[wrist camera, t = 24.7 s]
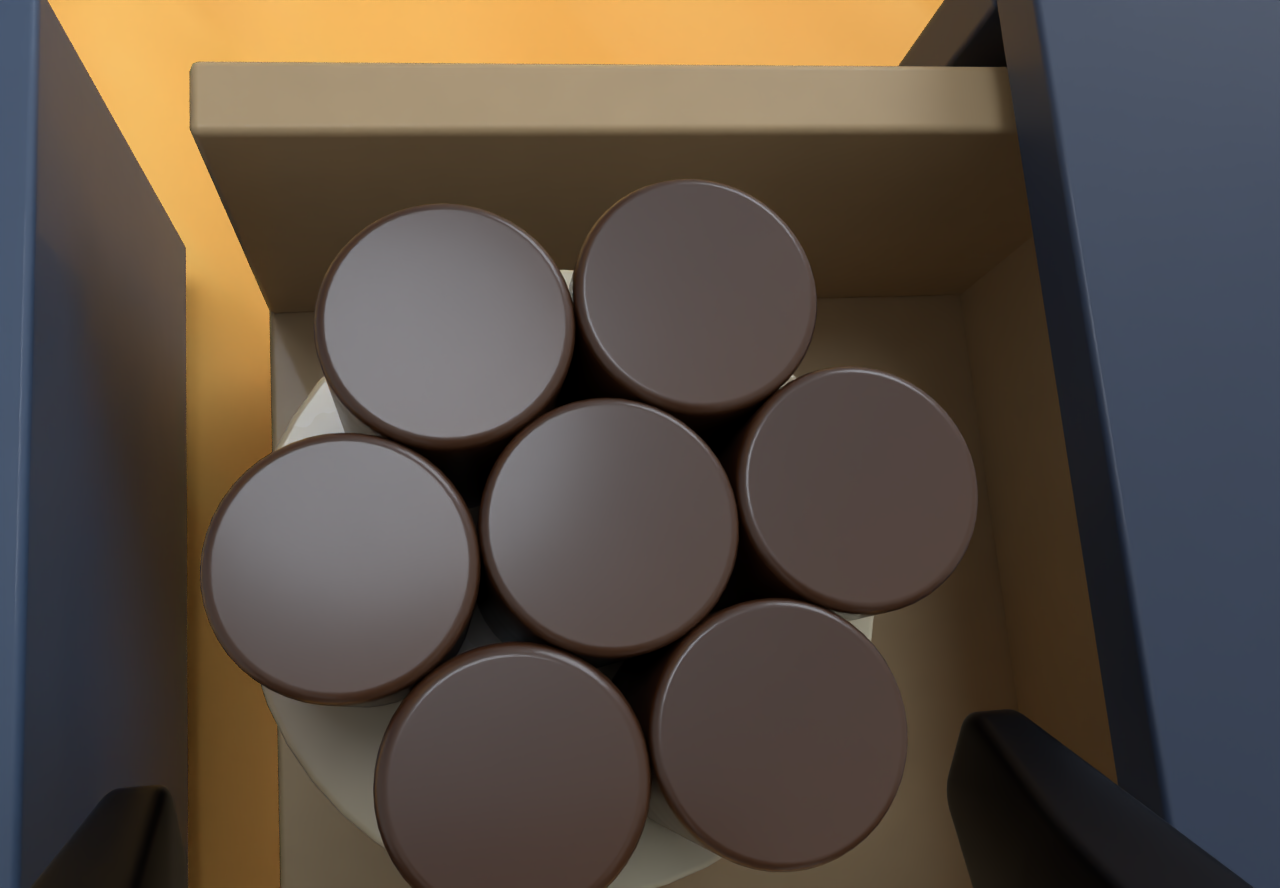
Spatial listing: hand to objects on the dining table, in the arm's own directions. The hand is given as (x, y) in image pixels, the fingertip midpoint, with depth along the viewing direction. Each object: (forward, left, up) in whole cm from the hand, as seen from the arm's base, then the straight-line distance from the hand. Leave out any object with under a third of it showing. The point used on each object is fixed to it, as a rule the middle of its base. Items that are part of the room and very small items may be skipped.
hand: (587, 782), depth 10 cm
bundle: (+1, -2, -7) cm, 7 cm away
